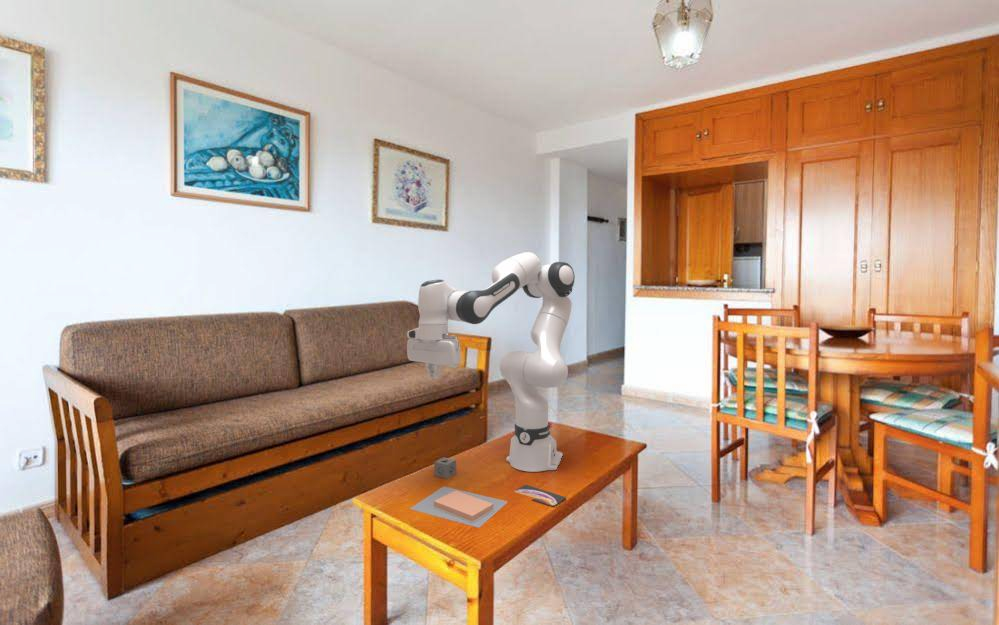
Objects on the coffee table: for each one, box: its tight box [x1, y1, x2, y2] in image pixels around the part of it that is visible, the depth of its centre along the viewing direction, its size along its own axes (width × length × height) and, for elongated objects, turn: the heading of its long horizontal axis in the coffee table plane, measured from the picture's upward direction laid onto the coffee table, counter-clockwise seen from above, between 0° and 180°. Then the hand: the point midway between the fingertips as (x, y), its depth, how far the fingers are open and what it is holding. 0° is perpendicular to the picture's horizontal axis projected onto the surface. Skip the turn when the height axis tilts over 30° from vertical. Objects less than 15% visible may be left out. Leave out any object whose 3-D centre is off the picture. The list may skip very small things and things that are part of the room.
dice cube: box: [433, 456, 457, 480], centre depth 161 cm, size 5×5×5 cm
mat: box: [409, 485, 508, 528], centre depth 140 cm, size 17×22×1 cm
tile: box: [434, 490, 493, 523], centre depth 137 cm, size 2×9×14 cm
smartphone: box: [513, 484, 567, 508], centre depth 147 cm, size 8×1×15 cm
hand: (433, 378), depth 152 cm, fingers closed
